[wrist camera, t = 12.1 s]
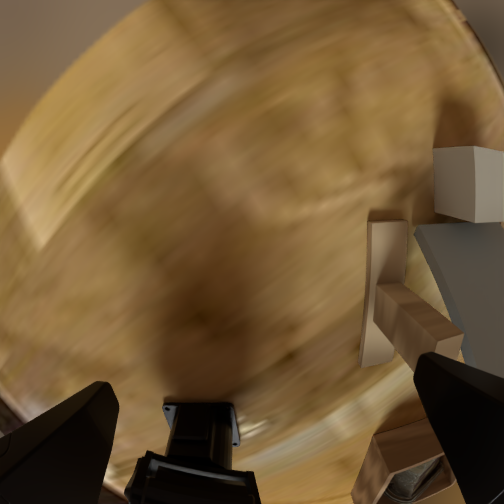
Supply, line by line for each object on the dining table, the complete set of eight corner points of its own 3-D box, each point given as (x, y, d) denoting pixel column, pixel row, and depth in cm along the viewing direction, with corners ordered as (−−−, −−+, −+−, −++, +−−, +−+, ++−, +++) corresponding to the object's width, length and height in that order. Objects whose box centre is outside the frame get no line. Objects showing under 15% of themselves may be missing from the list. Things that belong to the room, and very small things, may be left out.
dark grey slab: (526, 382, 13) (562, 361, 9) (447, 428, 13) (488, 415, 9) (476, 253, 22) (498, 220, 18) (398, 263, 22) (418, 224, 18)
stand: (493, 324, 22) (543, 363, 13) (358, 362, 22) (399, 437, 13) (511, 215, 19) (577, 235, 10) (367, 221, 19) (444, 255, 10)
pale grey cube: (513, 221, 14) (512, 154, 13) (474, 223, 14) (473, 145, 13) (473, 211, 19) (472, 153, 18) (433, 211, 19) (431, 148, 18)
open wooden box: (439, 462, 29) (452, 485, 24) (350, 493, 29) (359, 522, 24) (476, 395, 25) (498, 421, 19) (373, 435, 25) (389, 473, 19)
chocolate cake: (457, 431, 28) (445, 478, 19) (445, 463, 28) (428, 511, 19) (404, 426, 35) (379, 468, 26) (396, 457, 34) (369, 500, 25)
